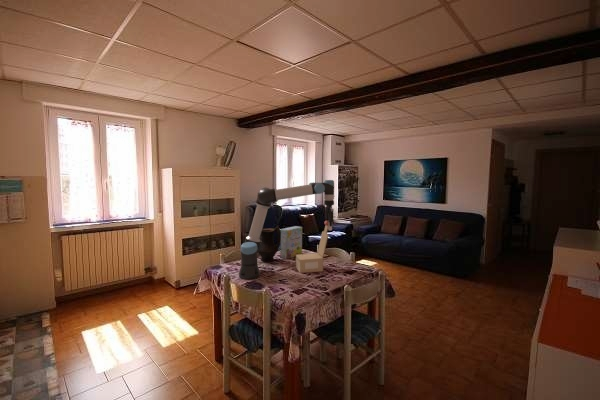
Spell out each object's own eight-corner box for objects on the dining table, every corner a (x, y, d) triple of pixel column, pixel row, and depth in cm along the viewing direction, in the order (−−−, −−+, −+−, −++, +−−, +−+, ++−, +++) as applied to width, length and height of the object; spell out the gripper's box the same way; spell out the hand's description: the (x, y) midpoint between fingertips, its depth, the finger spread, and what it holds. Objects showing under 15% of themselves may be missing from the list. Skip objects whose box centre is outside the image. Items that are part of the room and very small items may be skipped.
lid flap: (328, 222, 215) (333, 222, 216) (323, 219, 228) (327, 220, 229) (320, 256, 216) (325, 257, 217) (315, 252, 229) (320, 252, 230)
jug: (252, 263, 237) (251, 227, 234) (261, 256, 254) (261, 223, 252) (276, 265, 231) (275, 228, 228) (284, 258, 248) (283, 224, 246)
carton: (299, 272, 213) (299, 259, 212) (295, 267, 226) (295, 254, 226) (323, 271, 217) (323, 258, 216) (317, 265, 231) (317, 253, 230)
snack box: (287, 259, 246) (287, 230, 244) (280, 257, 251) (279, 229, 249) (302, 254, 263) (302, 226, 261) (295, 252, 268) (295, 225, 266)
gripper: (338, 200, 213) (337, 231, 215) (329, 198, 230) (329, 227, 232) (328, 201, 211) (328, 232, 213) (321, 199, 229) (320, 227, 231)
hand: (328, 229), depth 223 cm, fingers closed on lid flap, 5 cm apart
